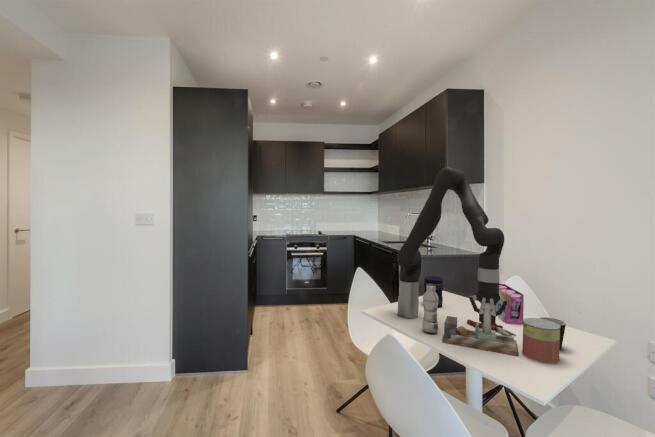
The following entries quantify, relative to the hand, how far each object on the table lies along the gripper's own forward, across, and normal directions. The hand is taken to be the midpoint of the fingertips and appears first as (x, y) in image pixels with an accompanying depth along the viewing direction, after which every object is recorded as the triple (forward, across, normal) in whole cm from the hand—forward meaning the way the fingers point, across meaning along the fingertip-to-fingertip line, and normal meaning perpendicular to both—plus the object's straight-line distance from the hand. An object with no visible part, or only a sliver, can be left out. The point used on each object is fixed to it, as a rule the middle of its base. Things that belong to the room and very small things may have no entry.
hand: (487, 323), depth 127 cm
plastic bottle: (+8, -22, +3) cm, 23 cm away
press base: (+8, -3, 0) cm, 9 cm away
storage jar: (+8, -27, +43) cm, 51 cm away
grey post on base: (+6, -1, 0) cm, 6 cm away
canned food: (+8, +17, -2) cm, 19 cm away
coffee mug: (+8, +22, +11) cm, 26 cm away
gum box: (+9, +8, +42) cm, 44 cm away
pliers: (+9, 0, +19) cm, 21 cm away
